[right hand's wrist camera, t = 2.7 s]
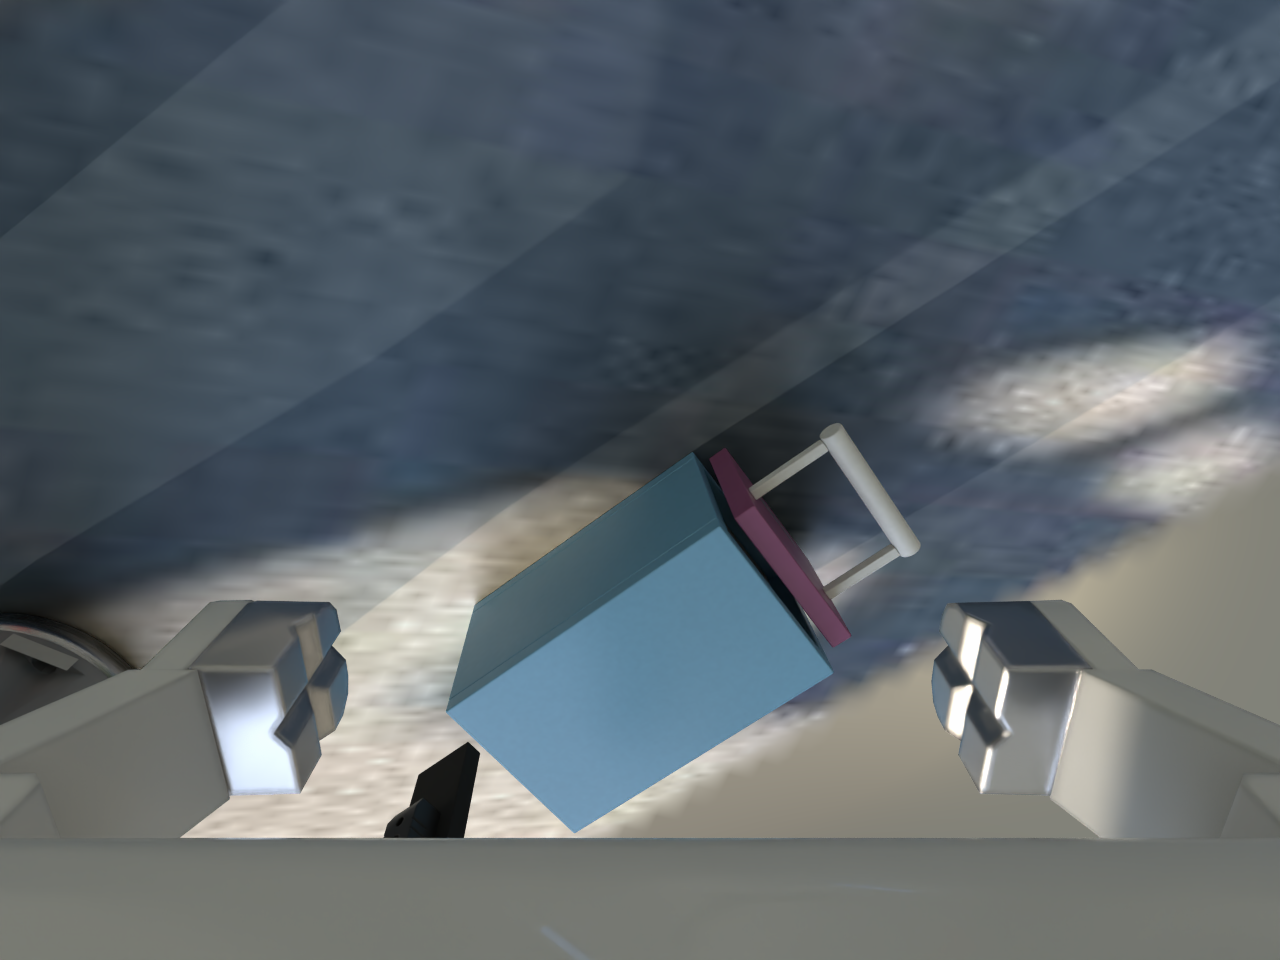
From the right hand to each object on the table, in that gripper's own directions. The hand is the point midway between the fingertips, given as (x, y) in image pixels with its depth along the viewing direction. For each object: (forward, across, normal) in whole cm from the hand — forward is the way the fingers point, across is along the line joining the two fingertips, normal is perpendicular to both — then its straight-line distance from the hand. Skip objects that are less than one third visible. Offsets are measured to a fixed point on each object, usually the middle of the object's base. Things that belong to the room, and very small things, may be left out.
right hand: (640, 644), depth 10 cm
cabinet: (+35, -1, -19) cm, 40 cm away
